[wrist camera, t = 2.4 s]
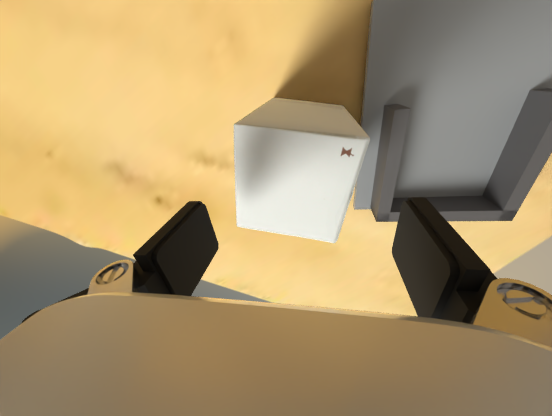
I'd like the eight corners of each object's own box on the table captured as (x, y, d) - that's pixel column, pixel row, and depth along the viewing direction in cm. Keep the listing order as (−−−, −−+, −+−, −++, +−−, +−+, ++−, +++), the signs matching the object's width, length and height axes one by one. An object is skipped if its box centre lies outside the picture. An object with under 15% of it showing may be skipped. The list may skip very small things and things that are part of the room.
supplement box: (271, 95, 21) (230, 116, 11) (345, 104, 21) (377, 136, 10) (266, 164, 25) (233, 228, 15) (328, 173, 25) (338, 246, 14)
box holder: (371, 2, 17) (384, -14, 13) (634, -48, 14) (732, -86, 10) (353, 206, 27) (358, 223, 23) (503, 202, 23) (532, 223, 20)
